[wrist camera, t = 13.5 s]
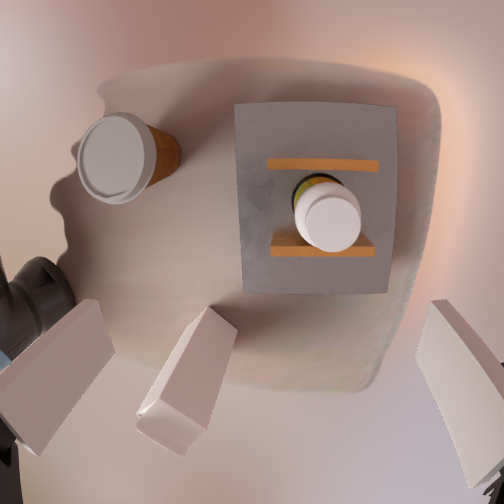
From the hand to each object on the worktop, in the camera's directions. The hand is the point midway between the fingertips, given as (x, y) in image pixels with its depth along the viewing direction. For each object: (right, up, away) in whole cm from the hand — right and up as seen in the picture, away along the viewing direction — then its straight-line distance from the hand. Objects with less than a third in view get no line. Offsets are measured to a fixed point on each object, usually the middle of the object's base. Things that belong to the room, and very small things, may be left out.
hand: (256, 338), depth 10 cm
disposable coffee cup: (-12, +16, +25) cm, 32 cm away
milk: (-6, -9, +33) cm, 34 cm away
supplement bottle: (+7, +8, +18) cm, 21 cm away
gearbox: (+8, +10, +24) cm, 27 cm away
